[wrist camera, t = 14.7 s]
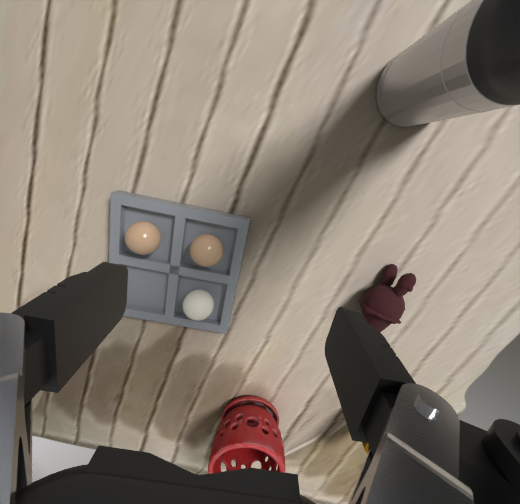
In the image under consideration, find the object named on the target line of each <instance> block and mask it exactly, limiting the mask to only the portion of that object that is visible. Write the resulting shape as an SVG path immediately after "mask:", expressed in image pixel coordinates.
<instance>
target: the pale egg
mask: <svg viewBox="0 0 520 504" xmlns="http://www.w3.org/2000/svg"><path fill="white" fill-rule="evenodd" d="M213 309H214V300H213V297H212V296H211V294H210V293H208V292H207V291H205V290H201V289H197V290H193V291H191V292H189V293H188V294H187V295H186V296H185V298H184V300H183V311H184V313H185V315H186V316H187V317H188V318H190V319H192V320H195V321H200V320H204V319H206V318H207V317H209V316H210V314H211V313H212V311H213Z"/></svg>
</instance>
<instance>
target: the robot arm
mask: <svg viewBox="0 0 520 504" xmlns="http://www.w3.org/2000/svg"><path fill="white" fill-rule="evenodd" d="M376 99H377V105H378V108H379V111H380V113H381V114H382V116H383V117H384V118H385V119H386V120H387V121H388V122H389V123H391V124H393V125H396V126H400V127H410V126H415V125H420V124H425V123H430V122H435V121H441V120H446V119H451V118H456V117H461V116H466V115H471V114H476V113H481V112H486V111H491V110H495V109H500V108H505V107H510V106H515V105H520V0H472V1H470V2H469V3H468V4H466V5H465V6H464V7H462V8H461V9H460V10H458V11H457V12H455V13H454V14H453V15H451V16H450V17H449V18H447V19H446V20H445V21H443V22H442V23H441V24H439V25H438V26H437V27H435V28H434V29H432V30H431V31H430V32H428V33H427V34H426V35H424V36H423V37H422V38H420V39H419V40H418V41H416V42H415V43H414V44H412V45H411V46H409V47H408V48H407V49H405V50H404V51H403V52H402V53H400V54H399V55H398V56H396V57H395V58H394V59H392V60H391V61H390V62H389V64H388V65H387V66H386V67H385V69H384V70H383V72H382V74H381V76H380V78H379V81H378V85H377V90H376ZM127 285H128V268H127V267H126V266H124V265H119V264H114V263H108V262H102V263H101V264H99V265H98V266H96V267H95V268H93V269H92V270H90V271H89V272H83V273H80V274H77V275H73V276H70V277H68V278H66V279H65V280H63V281H62V282H60V283H58V284H57V286H54V287H52V288H51V289H49V290H47V292H44V293H43V294H41V295H39V296H38V297H36V298H35V299H33V300H31V301H30V302H28V303H27V304H25V305H23V306H22V307H20V308H19V309H17V310H15V311H14V312H12V313H0V504H316V503H314V502H312V501H311V500H309V499H308V498H306V497H304V496H302V495H300V492H299V484H298V475H297V474H290V473H283V472H276V471H269V470H263V469H256V468H245V469H238V470H232V471H225V472H218V473H211V474H205V475H197V474H193V473H191V472H189V471H187V470H185V469H182V468H180V467H178V466H176V465H174V464H172V463H170V462H168V461H165V460H163V459H161V458H159V457H157V456H155V455H153V454H151V453H146V452H140V451H133V450H126V449H119V448H112V447H105V446H98V448H97V449H96V451H95V453H94V455H93V457H92V458H91V460H90V462H89V464H88V465H81V466H77V467H73V468H69V469H65V470H62V471H59V472H56V473H54V474H51V475H48V476H46V477H44V478H42V479H40V480H37V481H35V482H33V483H32V398H33V397H34V396H35V395H36V394H37V393H38V392H39V391H40V390H43V391H50V392H56V393H58V392H59V391H60V390H61V389H62V387H63V386H64V385H65V384H66V383H67V382H68V380H69V379H70V378H71V377H72V376H73V375H74V374H75V372H76V371H77V370H78V369H79V368H80V367H81V365H82V364H83V363H84V362H85V361H86V360H87V358H88V357H89V356H90V355H91V354H92V353H93V351H94V350H95V349H96V348H97V347H98V346H99V344H100V343H101V342H102V341H103V340H104V339H105V337H106V336H107V335H108V334H109V333H110V332H111V330H112V329H113V328H114V327H115V326H116V325H117V323H118V322H119V321H120V320H121V318H122V317H123V314H124V312H125V309H126V304H127ZM325 357H326V360H327V363H328V366H329V369H330V372H331V376H332V379H333V382H334V385H335V388H336V391H337V394H338V397H339V401H340V404H341V407H342V410H343V413H344V416H345V419H346V422H347V425H348V429H349V432H350V435H351V438H352V440H353V441H360V442H366V443H368V445H369V447H370V451H369V453H368V455H367V457H366V459H365V462H364V464H363V467H362V469H361V472H360V475H359V477H358V480H357V482H356V485H355V488H354V490H353V493H352V495H351V498H350V501H349V503H348V504H520V425H519V424H517V423H514V422H512V421H509V420H504V419H498V420H495V421H494V423H493V424H492V425H491V427H490V428H489V430H488V431H485V430H483V429H480V428H478V427H476V426H473V425H471V424H468V423H466V422H463V421H461V420H459V418H458V415H457V414H456V412H455V410H454V409H453V408H452V407H451V405H450V404H449V403H448V402H447V401H446V400H444V399H443V398H442V397H441V396H439V395H438V394H437V393H435V392H433V391H432V390H430V389H428V388H426V387H424V386H421V385H418V384H416V383H415V382H414V380H413V379H412V377H411V376H410V374H409V373H408V371H407V370H406V368H405V367H404V365H403V364H402V363H401V361H400V360H399V358H398V357H397V356H396V354H395V352H394V351H393V349H392V348H390V345H389V343H388V342H387V340H386V339H385V338H384V336H383V335H382V334H381V333H380V332H378V331H377V330H376V329H375V328H374V327H373V326H370V325H369V323H368V322H367V320H366V319H365V317H364V316H363V314H362V313H361V311H359V310H354V309H348V308H343V307H339V308H338V310H337V311H336V314H335V317H334V319H333V322H332V325H331V328H330V331H329V334H328V337H327V339H326V343H325Z"/></svg>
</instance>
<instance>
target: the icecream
mask: <svg viewBox="0 0 520 504" xmlns="http://www.w3.org/2000/svg"><path fill="white" fill-rule="evenodd" d="M396 275H397V266H396V265H394V264H390V265H388V266H387V267H386V269H385V270H384V271H383V275H382V279H381V285H379V286H376V287H373V288H371V289H370V290H369V291H367V292H366V294H365V295H364V296H363V300H359V303H360V305H361V307H363V311H362V314H363V316H364V317H365V319H366V320H367V322H368V323H369V325H370V326H373V327H374V328H375V329H376V330H377V331H378V332H381V331H383V330H384V329H385V328H386V327H388V326H389V325H390V324H391V323H392V324H396V323H398V324H399V323H401V322H400V320H399V319H400V318H401V316H402V314H403V312H404V310H405V302H404V299H403V295H405V294H406V293H407V292H408V291H409V292H411V291H412V290H413V286H414V285H415V283H416V277H415V275H414V274H412V273H408V274H405V275H403V276H401V277H400V279H399V280H398V283H397V284H396V286H395V287H394V288H393V287H390V286H391V285H392V284H393V282H394V280H395V278H396Z"/></svg>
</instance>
